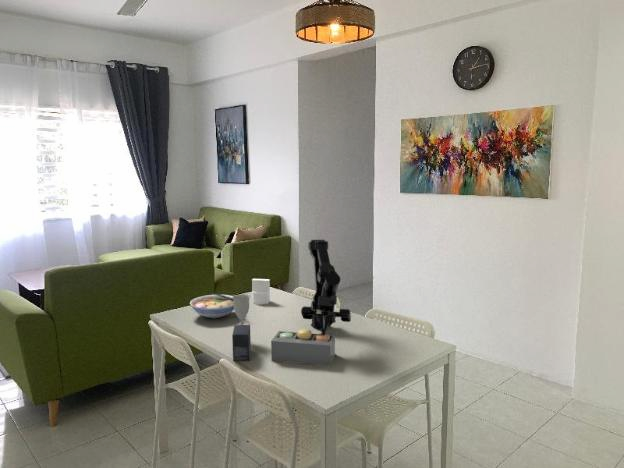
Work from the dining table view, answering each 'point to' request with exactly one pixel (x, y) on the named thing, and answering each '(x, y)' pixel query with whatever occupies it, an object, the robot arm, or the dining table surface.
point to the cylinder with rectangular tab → (260, 291)
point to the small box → (241, 343)
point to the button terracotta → (323, 337)
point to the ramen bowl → (213, 305)
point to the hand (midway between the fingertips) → (323, 334)
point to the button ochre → (304, 334)
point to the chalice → (241, 306)
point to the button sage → (286, 335)
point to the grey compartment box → (302, 349)
